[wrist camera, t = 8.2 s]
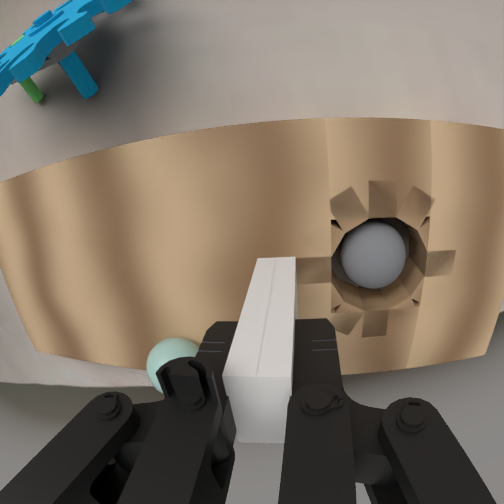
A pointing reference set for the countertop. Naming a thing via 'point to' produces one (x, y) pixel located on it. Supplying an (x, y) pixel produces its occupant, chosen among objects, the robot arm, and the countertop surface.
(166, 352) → the teal ball
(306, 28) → the countertop surface
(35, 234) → the board
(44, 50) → the gear
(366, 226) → the grey ball
